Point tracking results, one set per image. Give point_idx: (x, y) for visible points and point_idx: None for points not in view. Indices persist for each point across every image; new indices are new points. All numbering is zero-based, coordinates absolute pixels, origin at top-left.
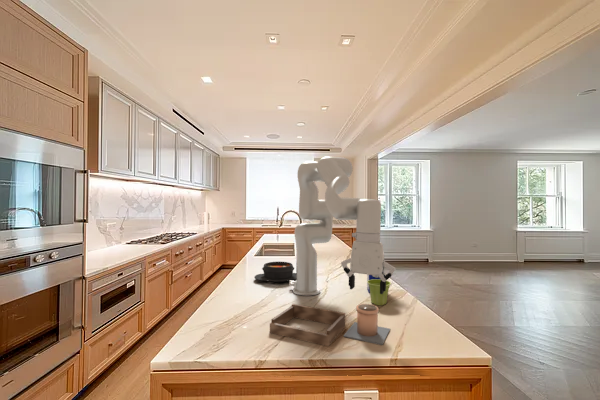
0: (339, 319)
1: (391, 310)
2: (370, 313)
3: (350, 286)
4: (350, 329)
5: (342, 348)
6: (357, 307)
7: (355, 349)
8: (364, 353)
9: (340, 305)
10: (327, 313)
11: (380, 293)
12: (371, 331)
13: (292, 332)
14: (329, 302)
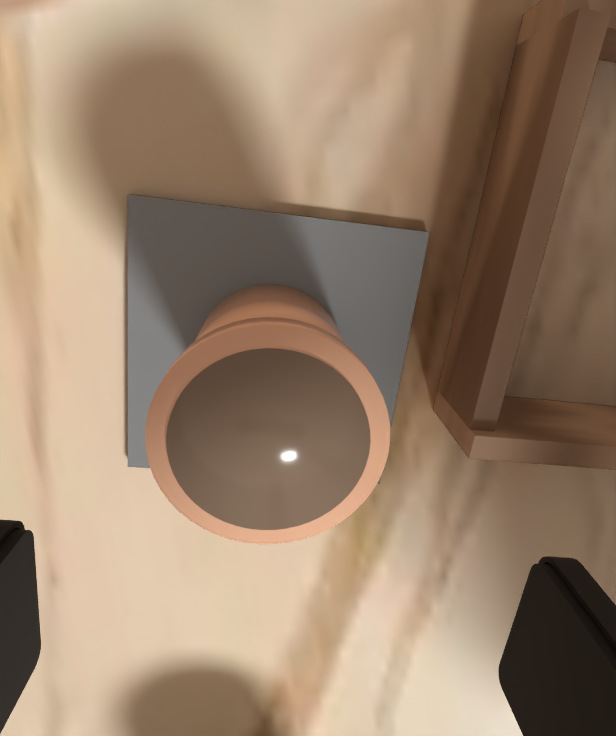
0: (505, 328)
1: (177, 732)
2: (218, 331)
3: (592, 588)
4: (392, 354)
5: (411, 17)
6: (376, 412)
7: (312, 38)
8: None
9: (495, 695)
10: (607, 437)
11: (10, 521)
12: (226, 303)
13: None
14: None
